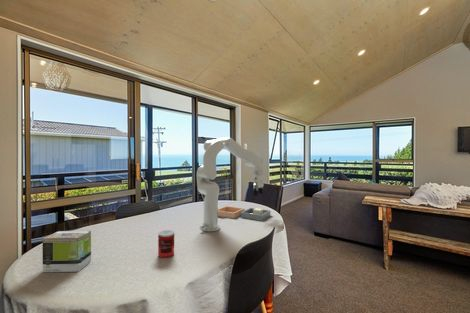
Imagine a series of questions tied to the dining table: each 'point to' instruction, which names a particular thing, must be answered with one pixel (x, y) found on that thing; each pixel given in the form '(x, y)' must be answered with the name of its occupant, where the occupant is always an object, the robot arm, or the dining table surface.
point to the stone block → (258, 211)
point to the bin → (247, 214)
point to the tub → (230, 212)
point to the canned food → (166, 243)
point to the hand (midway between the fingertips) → (258, 194)
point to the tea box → (66, 251)
